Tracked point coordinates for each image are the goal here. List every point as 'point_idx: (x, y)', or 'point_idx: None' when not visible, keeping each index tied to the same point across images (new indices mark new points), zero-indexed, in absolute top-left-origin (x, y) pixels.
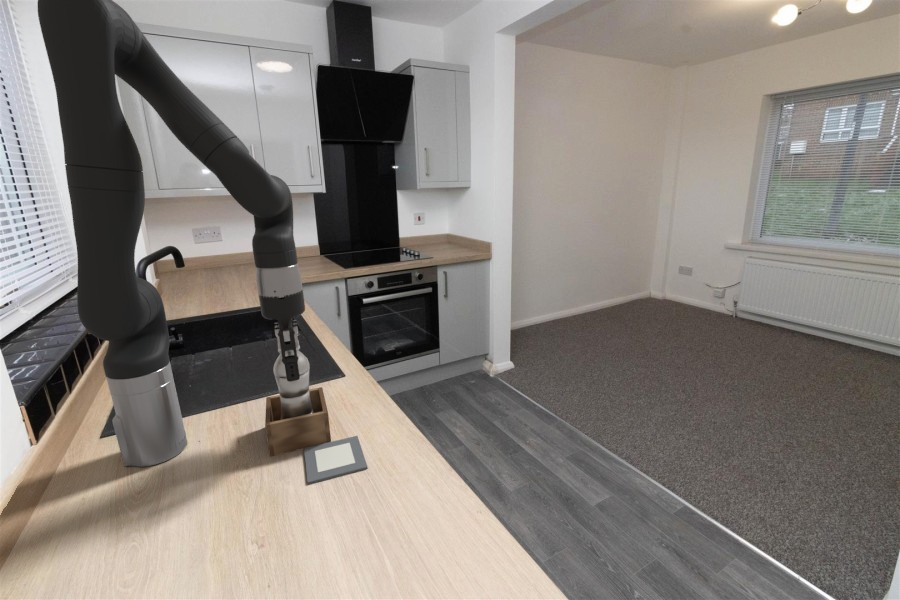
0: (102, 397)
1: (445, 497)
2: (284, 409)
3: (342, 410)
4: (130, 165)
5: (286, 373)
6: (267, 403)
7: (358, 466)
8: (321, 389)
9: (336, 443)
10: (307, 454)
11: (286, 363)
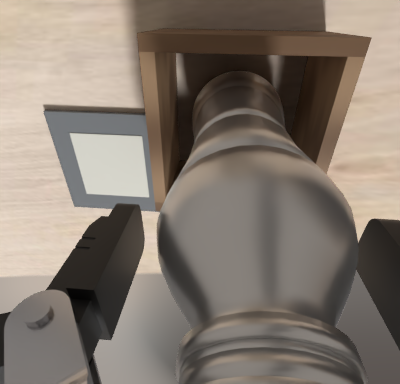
0: None
1: (9, 260)
2: (211, 108)
3: None
4: None
5: (99, 232)
6: (310, 42)
7: (77, 195)
8: None
9: None
10: (135, 120)
11: (71, 293)
